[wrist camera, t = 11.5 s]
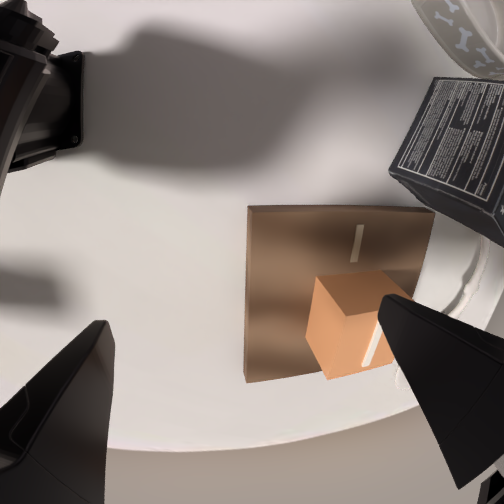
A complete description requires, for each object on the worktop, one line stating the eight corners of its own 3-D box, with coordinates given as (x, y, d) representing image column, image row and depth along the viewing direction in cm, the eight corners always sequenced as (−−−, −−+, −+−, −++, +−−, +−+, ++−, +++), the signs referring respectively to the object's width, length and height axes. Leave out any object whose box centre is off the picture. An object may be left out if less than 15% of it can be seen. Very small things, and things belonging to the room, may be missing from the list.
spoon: (509, 162, 23) (530, 170, 20) (420, 372, 36) (432, 387, 33) (475, 137, 21) (500, 143, 18) (377, 383, 34) (388, 401, 31)
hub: (364, 327, 25) (393, 364, 21) (305, 337, 24) (328, 381, 19) (380, 270, 23) (418, 304, 18) (316, 276, 21) (347, 318, 17)
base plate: (247, 205, 20) (263, 229, 16) (424, 207, 23) (459, 225, 19) (243, 371, 26) (252, 408, 22) (384, 345, 30) (404, 371, 26)
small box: (427, 209, 23) (514, 260, 14) (384, 171, 21) (489, 217, 11) (469, 120, 20) (558, 142, 11) (433, 74, 18) (535, 79, 8)
